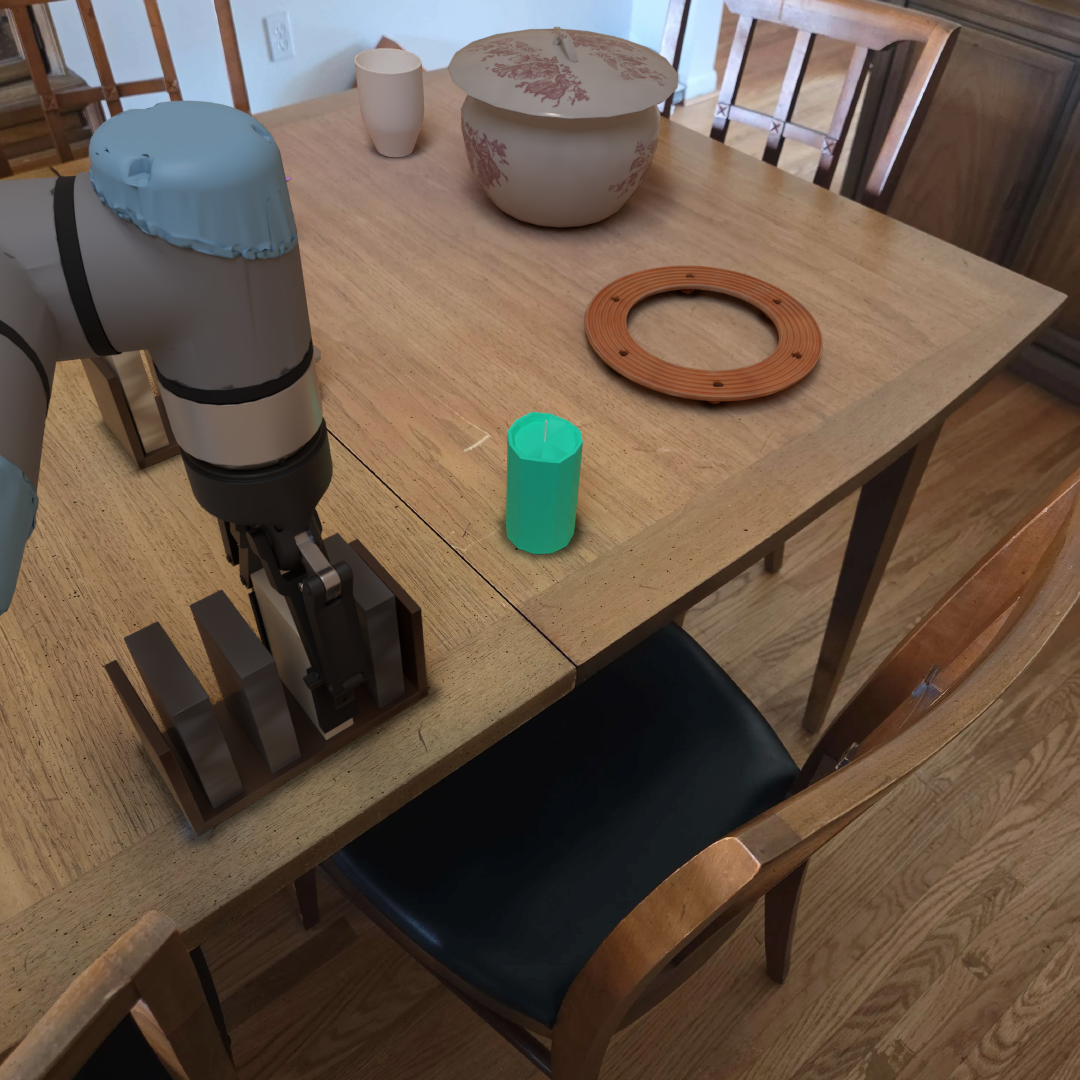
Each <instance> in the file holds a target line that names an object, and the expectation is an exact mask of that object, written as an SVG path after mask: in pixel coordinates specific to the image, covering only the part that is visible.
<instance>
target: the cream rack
mask: <svg viewBox="0 0 1080 1080" xmlns="http://www.w3.org/2000/svg"><path fill="white" fill-rule="evenodd" d="M143 353H144V357H145V359H146V362H147V365H148V368H149V372H150V374H151V375H150V376H151V378H152V381H153V384H154V387H155V391H156V394H157V395H154V391H153V389H152V386H151V383H150V380H149V376H148V374H147V371H146V368H145V364H144V361H143V357H142V354H141V352H140V350H139V351H130V352H122V353H121V354H119V355H111V356H101V357H93V358H85V359H80V361H81V364H82V367H83V369H84V373H85V375H86V378H87V380H88V382H89V385H90V388H91V390H92V394H93V396H94V399H95V402H96V404H97V406H98V410H99V411H100V414H101V417H102V420H103V422H104V425H105V426H106V427H107V429H108V430H109V431H110V433H111V434H112V436H113V437H114V438H115V439H116V440H117V442H118V443H119V445H120V446H121V448H122V449H123V450H124V451H125V453H126V454H127V455H128V457H129V458H130V459H131V461H132V462H133V464H135V466H136V467H137V469H138V470H140V471H141V470H144V469H145V468H149V467H150V466H153V465H155V464H158V463H160V462H162V461H165V460H167V459H169V458H172V457H174V456H177V455H179V454H180V455H181V453H180V448H179V444H178V443H177V441H176V438H175V436H174V434H173V431H172V428H171V425H170V421H169V418H168V415H167V412H166V408H165V405H164V402H163V399H162V395H161V392H160V389H159V386H158V382H157V379H156V376H155V372H154V365H153V361H152V358H151V356H150V354H149V352H148V350H143Z"/></svg>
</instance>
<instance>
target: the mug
mask: <svg viewBox="0 0 1080 1080" xmlns="http://www.w3.org/2000/svg"><path fill="white" fill-rule="evenodd" d="M353 62H354V70H355V71H354V72H355V76H356V77H355V78H356V79H355V80H356V87H357V94H358V102H359V108H360V114H361V118H362V121H363V123H364V126H365V127H366V128H365V129H366V130H367V132H368V134H369V136H370V138H371V140H372V142H373V145H374V147H375V149H376V151H377V152H378V153H379V154H380V155H382V156H385V157H388V158H403V157H407V156H409V155H411V154H412V153H414V152H413V151H414V148H415V146H416V144H417V141H418V138H419V136H420V132H421V129H422V127H423V125H424V118H425V93H424V92H425V91H424V77H423V61H422V58H421V57H420V56H419V55H417V54H416V53H413V52H411V51H408V50H405V49H399V48H390V47H381V48H379V47H377V48H371V49H366V50H363V51H361V52H359V53H357V54H356V55H355V56H354V58H353Z"/></svg>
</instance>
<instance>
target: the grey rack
mask: <svg viewBox="0 0 1080 1080" xmlns="http://www.w3.org/2000/svg"><path fill="white" fill-rule="evenodd" d="M322 540H323V543H324V546H325V549H326V551H327V554H328V557H329V560H330V563H331V565H333V564H335V563H337V562H339V561H341V560H344V561H346V562H347V563H348V565H350V567H351V568H352V573H353V596H354V600H355V605H356V609H357V614H358V618H359V622H360V627H361V631H362V636H363V640H364V644H365V649H366V653H367V658H368V662H369V666H370V671H371V676H372V677H371V678H369V679H367V680H366V681H364V682H362V683H361V684H359V685H357V686H355V688H356V693H357V699H358V705H359V711H360V713H359V714H358V715H356V716H354V717H353V723H354V724H353V725H351V726H349V727H348V728H346V729H344V730H343V731H341V732H339V733H338V734H336V735H334V736H333V737H331V738H329V739H328V740H326V739H325V738H324V737H323V735H322V734H321V732H320V731H319V730H318V728H317V727H316V726H315V724H314V723H313V722H312V720H311V719H310V718H309V716H308V715H307V714H306V712H305V711H304V710H303V708H302V707H301V705H300V704H299V703H298V701H297V700H296V699H295V697H294V696H293V695H292V693H291V692H290V691H289V689H288V688H287V687H286V685H285V684H284V683H283V681H282V680H281V678H280V676H279V673H278V669H277V665H276V662H275V659H274V658H273V657H272V655H271V654H270V653H269V651H268V650H267V649H266V647H265V646H264V645H263V643H262V642H261V638H260V637H259V636H258V635H257V634H256V632H255V631H254V630H253V628H252V627H251V626H250V625H249V623H248V622H247V620H246V619H245V618H244V617H243V615H242V614H241V613H240V611H239V610H238V609H237V607H236V606H235V605H234V603H233V601H232V600H231V599H230V597H229V596H228V595H227V593H226V592H225V590H223V589H220V590H219V589H218V591H215V592H213V593H211V594H210V595H207V596H205V597H203V598H201V599H199V600H197V601H195V602H193V603H190V604H189V609H190V611H191V614H192V617H193V620H194V622H195V625H196V628H197V631H198V633H199V636H200V639H201V642H202V644H203V647H204V650H205V653H206V655H207V658H208V661H209V664H210V667H211V669H212V672H213V675H214V677H215V680H216V683H217V686H218V689H219V692H220V694H221V697H222V699H221V700H219V701H217V702H215V703H214V704H213V703H212V701H211V699H210V695H209V694H208V693H207V692H206V689H204V686H203V685H202V684H201V683H200V681H199V680H198V677H196V675H195V673H194V672H193V671H192V669H191V667H190V666H189V664H188V663H187V661H186V660H185V658H184V656H183V655H182V654H181V652H180V651H179V650H178V648H177V647H176V645H175V643H174V642H173V641H172V639H171V638H170V636H169V635H168V633H167V632H166V630H165V629H164V627H163V625H162V624H161V622H160V621H158V620H157V621H154V622H153V623H150V624H148V625H147V626H144V627H143V628H140V629H139V630H136V631H134V632H132V633H129V634H128V635H126V636H124V637H123V641H124V644H125V645H126V648H127V650H128V652H129V654H130V656H131V658H132V660H133V663H134V665H135V667H136V669H137V672H138V673H139V676H140V678H141V681H142V682H143V685H144V686H145V689H146V690H147V693H148V695H149V697H150V700H151V701H152V704H153V706H154V708H155V710H156V712H157V714H158V717H159V719H160V721H161V723H162V725H163V728H164V729H165V730H164V731H163V732H161V730H160V728H159V727H158V725H157V724H156V722H155V720H154V719H153V716H152V715H151V714H150V712H149V710H148V709H147V707H146V705H145V704H144V702H143V700H142V699H141V697H140V696H139V694H138V692H137V690H136V689H135V688H134V685H133V684H132V683H131V680H130V679H129V678H128V676H127V674H126V673H125V671H124V669H123V668H122V666H121V664H120V663H119V661H118V660H117V659H114V660H111V661H110V662H108V663H106V664H104V665H103V667H104V670H105V671H106V673H107V675H108V677H109V679H110V681H111V684H112V686H113V688H114V689H115V692H116V693H117V695H118V697H119V700H120V701H121V703H122V705H123V707H124V709H125V712H126V714H127V715H128V717H129V719H130V722H131V724H132V725H133V727H134V729H135V732H136V733H137V735H138V737H139V739H140V741H141V743H142V745H143V747H144V749H145V751H146V753H147V755H148V756H149V758H150V760H151V762H152V763H153V765H154V766H155V768H156V769H157V772H158V773H159V775H160V776H161V778H162V780H163V782H164V783H165V785H166V787H167V788H168V790H169V792H170V794H171V795H172V797H173V799H174V801H175V802H176V804H177V805H178V807H179V809H180V810H181V812H182V814H183V816H184V817H185V819H186V820H187V822H188V824H189V826H190V828H191V829H192V830H193V832H194V834H195V836H196V837H200V836H201V835H203V834H204V833H206V832H207V831H210V830H211V829H212V828H215V827H216V826H217V825H219V824H220V823H222V822H224V821H225V820H227V819H229V818H230V817H232V816H234V815H235V814H237V813H239V812H240V811H242V810H244V809H245V808H247V807H248V806H250V805H251V804H254V803H255V802H257V801H258V800H260V799H262V798H263V797H265V796H266V795H268V794H270V793H271V792H272V791H274V790H276V789H278V788H279V787H280V786H282V785H284V784H286V783H288V782H289V781H291V780H292V779H293V778H295V777H297V776H299V775H300V774H302V773H303V772H305V771H307V770H309V769H310V768H312V767H313V766H315V765H317V764H318V763H320V762H321V761H323V760H325V759H327V758H328V757H329V756H331V755H333V754H335V753H337V752H338V751H339V750H341V749H342V748H344V747H346V746H347V745H350V744H351V743H352V742H354V741H356V740H357V739H359V738H361V737H363V735H366V734H368V732H370V731H372V730H374V729H375V728H377V727H378V726H380V725H382V724H383V723H385V722H387V721H388V720H389V719H392V718H393V717H394V716H396V715H398V714H399V713H402V712H403V711H404V710H406V709H408V708H409V707H411V706H412V705H414V704H416V703H418V702H419V701H421V700H422V699H424V698H426V697H427V696H429V686H428V674H427V663H426V662H427V661H426V651H425V650H426V649H425V638H424V623H423V612H422V607H421V606H420V605H419V604H418V603H417V601H415V600H414V599H413V598H412V596H411V595H410V594H409V593H408V592H407V591H406V590H405V589H404V587H403V586H402V585H401V584H400V583H399V582H398V581H397V580H396V578H394V577H393V576H392V574H390V572H389V571H388V570H387V569H386V568H385V567H384V566H383V565H382V563H380V561H379V560H378V559H377V558H376V557H375V556H374V555H373V553H371V552H370V550H369V549H368V548H367V547H366V546H365V545H364V544H363V543H362V542H361V541H360V540H359V538H356V539H353V540H351V541H350V542H347V541H346V540H345V538H344V537H343V536H342V535H341V534H340V533H339V532H336V533H334V534H331V535H330V536H328V537H325V538H324V539H322Z"/></svg>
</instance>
